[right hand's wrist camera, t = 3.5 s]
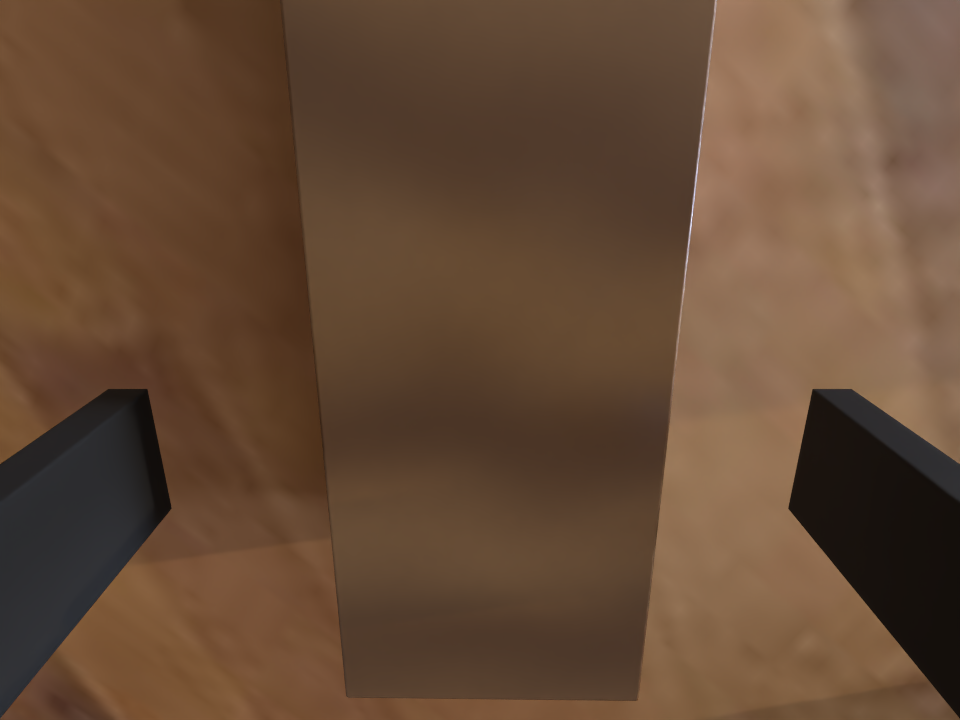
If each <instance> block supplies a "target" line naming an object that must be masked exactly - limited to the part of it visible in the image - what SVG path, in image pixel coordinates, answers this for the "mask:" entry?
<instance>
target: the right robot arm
mask: <svg viewBox="0 0 960 720" xmlns="http://www.w3.org/2000/svg"><path fill="white" fill-rule="evenodd" d="M171 509H172V508H171V503H170V498H169V493H168V488H167V483H166V478H165V473H164V469H163V464H162V459H161V454H160V449H159V444H158V439H157V434H156V429H155V424H154V420H153V415H152V410H151V405H150V400H149V395H148V390H147V389H108V390H107V391H105V392H104V393H102V394H101V395H99V396H98V397H96V398H95V399H94V400H92V401H91V402H89V403H88V404H86V405H85V406H83V407H82V408H81V409H79V410H78V411H76V412H75V413H73V414H72V415H71V416H69V417H68V418H66V419H65V420H63V421H62V422H60V423H59V424H58V425H56V426H55V427H53V428H52V429H50V430H49V431H47V432H46V433H45V434H43V435H42V436H40V437H39V438H37V439H36V440H35V441H33V442H32V443H30V444H29V445H27V446H26V447H24V448H23V449H22V450H20V451H19V452H17V453H16V454H14V455H13V456H11V457H10V458H9V459H7V460H6V461H4V462H3V463H1V464H0V718H1V717H2V715H3V714H4V713H5V712H6V711H7V709H8V708H9V707H10V706H11V704H12V703H13V702H14V701H15V700H16V698H17V697H18V696H19V695H20V693H21V692H22V691H23V690H24V688H25V687H26V686H27V685H28V684H29V682H30V681H31V680H32V679H33V677H34V676H35V675H36V674H37V673H38V671H39V670H40V669H41V668H42V666H43V665H44V664H45V663H46V662H47V660H48V659H49V658H50V657H51V655H52V654H53V653H54V652H55V651H56V649H57V648H58V647H59V646H60V644H61V643H62V642H63V641H64V640H65V638H66V637H67V636H68V635H69V633H70V632H71V631H72V630H73V629H74V627H75V626H76V625H77V624H78V622H79V621H80V620H81V619H82V618H83V616H84V615H85V614H86V613H87V611H88V610H89V609H90V608H91V607H92V605H93V604H94V603H95V602H96V600H97V599H98V598H99V597H100V596H101V594H102V593H103V592H104V591H105V589H106V588H107V587H108V586H109V585H110V583H111V582H112V581H113V580H114V578H115V577H116V576H117V575H118V574H119V572H120V571H121V570H122V569H123V567H124V566H125V565H126V564H127V562H128V561H129V560H130V559H131V558H132V556H133V555H134V554H135V553H136V551H137V550H138V549H139V548H140V547H141V545H142V544H143V543H144V542H145V540H146V539H147V538H148V537H149V536H150V534H151V533H152V532H153V531H154V529H155V528H156V527H157V526H158V525H159V523H160V522H161V521H162V520H163V518H164V517H165V516H166V515H167V514H168V512H169V511H170V510H171ZM788 509H789V510H790V511H791V512H792V514H793V515H794V516H795V517H796V518H797V520H798V521H799V522H800V523H801V525H802V526H803V527H804V528H805V529H806V531H807V532H808V533H809V534H810V536H811V537H812V538H813V539H814V540H815V542H816V543H817V544H818V545H819V547H820V548H821V549H822V550H823V551H824V553H825V554H826V555H827V556H828V558H829V559H830V560H831V561H832V562H833V564H834V565H835V566H836V567H837V569H838V570H839V571H840V572H841V574H842V575H843V576H844V577H845V578H846V580H847V581H848V582H849V583H850V585H851V586H852V587H853V588H854V589H855V591H856V592H857V593H858V594H859V596H860V597H861V598H862V599H863V600H864V602H865V603H866V604H867V605H868V607H869V608H870V609H871V610H872V611H873V613H874V614H875V615H876V616H877V618H878V619H879V620H880V621H881V622H882V624H883V625H884V626H885V627H886V629H887V630H888V631H889V632H890V633H891V635H892V636H893V637H894V638H895V640H896V641H897V642H898V643H899V644H900V646H901V647H902V648H903V649H904V651H905V652H906V653H907V654H908V655H909V657H910V658H911V659H912V660H913V662H914V663H915V664H916V665H917V666H918V668H919V669H920V670H921V671H922V673H923V674H924V675H925V676H926V677H927V679H928V680H929V681H930V682H931V684H932V685H933V686H934V687H935V688H936V690H937V691H938V692H939V693H940V695H941V696H942V697H943V698H944V700H945V701H946V702H947V703H948V704H949V706H950V707H951V708H952V709H953V711H954V712H955V713H956V714H957V715H958V717H959V718H960V464H959V463H957V462H956V461H954V460H953V459H951V458H950V457H949V456H947V455H946V454H944V453H943V452H941V451H940V450H938V449H937V448H936V447H934V446H933V445H931V444H930V443H928V442H927V441H925V440H924V439H923V438H921V437H920V436H918V435H917V434H915V433H914V432H913V431H911V430H910V429H908V428H907V427H905V426H904V425H902V424H901V423H900V422H898V421H897V420H895V419H894V418H892V417H891V416H889V415H888V414H887V413H885V412H884V411H882V410H881V409H879V408H878V407H877V406H875V405H874V404H872V403H871V402H869V401H868V400H866V399H865V398H864V397H862V396H861V395H859V394H858V393H856V392H855V391H853V390H852V389H813V390H812V395H811V400H810V405H809V410H808V415H807V420H806V424H805V429H804V434H803V439H802V444H801V449H800V454H799V459H798V464H797V469H796V473H795V478H794V483H793V488H792V493H791V498H790V503H789V508H788Z"/></svg>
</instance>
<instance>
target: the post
mask: <svg viewBox="0 0 960 720" xmlns="http://www.w3.org/2000/svg"><path fill="white" fill-rule="evenodd" d="M280 3H281V14H282V24H283V35H284V46H285V56H286V67H287V77H288V88H289V98H290V109H291V119H292V130H293V140H294V151H295V161H296V172H297V182H298V193H299V203H300V214H301V225H302V235H303V246H304V256H305V267H306V277H307V288H308V298H309V309H310V319H311V330H312V340H313V351H314V361H315V372H316V382H317V393H318V403H319V414H320V425H321V435H322V446H323V456H324V467H325V477H326V488H327V498H328V509H329V519H330V530H331V540H332V551H333V561H334V572H335V582H336V593H337V603H338V614H339V625H340V635H341V646H342V656H343V667H344V677H345V688H346V696H347V697H349V698H434V699H523V700H613V701H637V700H638V697H639V688H640V679H641V670H642V661H643V652H644V643H645V635H646V626H647V617H648V608H649V599H650V590H651V581H652V573H653V564H654V555H655V546H656V537H657V528H658V519H659V511H660V502H661V493H662V484H663V475H664V466H665V458H666V449H667V440H668V431H669V422H670V413H671V404H672V396H673V387H674V378H675V369H676V360H677V351H678V342H679V334H680V325H681V316H682V307H683V298H684V289H685V280H686V272H687V263H688V254H689V245H690V236H691V227H692V219H693V210H694V201H695V192H696V183H697V174H698V165H699V157H700V148H701V139H702V130H703V121H704V112H705V103H706V95H707V86H708V77H709V68H710V59H711V50H712V41H713V33H714V24H715V15H716V6H717V0H280Z"/></svg>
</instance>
